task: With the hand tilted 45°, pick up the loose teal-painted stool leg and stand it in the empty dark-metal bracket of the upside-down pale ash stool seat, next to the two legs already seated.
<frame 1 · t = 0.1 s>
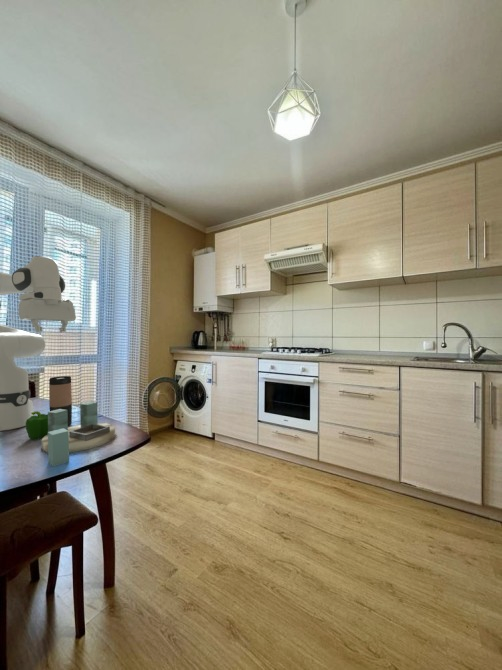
hand: (51, 331, 109), 39 cm above the table, tool pointing down, fingers open, 8 cm apart
bell pepper: (40, 438, 101), on the table
loose leg: (58, 462, 81), on the table
stool seat: (80, 439, 98), on the table
travel mug: (61, 426, 114), on the table
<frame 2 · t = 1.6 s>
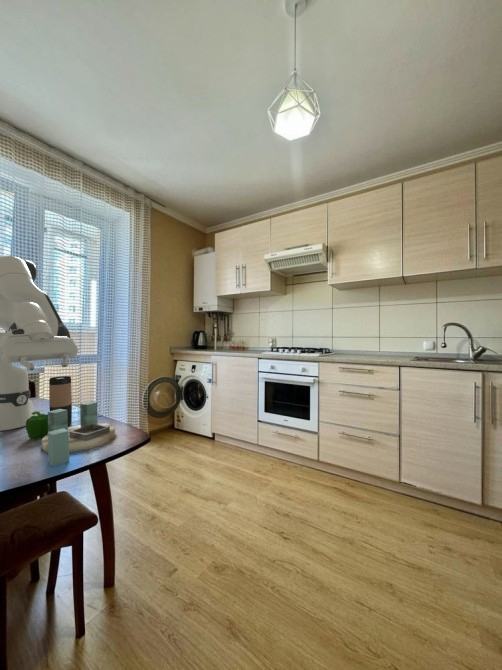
hand: (48, 367, 90), 27 cm above the table, tool tilted 45°, fingers open, 8 cm apart
nothing on the table moved.
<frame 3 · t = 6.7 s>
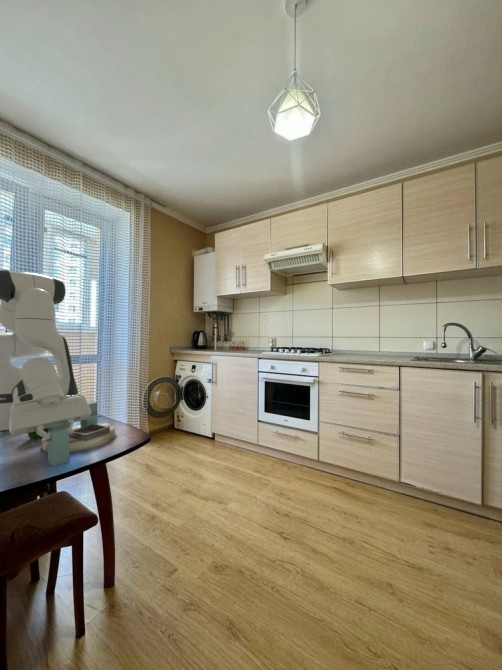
hand: (59, 437, 81), 7 cm above the table, tool tilted 45°, fingers closed on loose leg, 4 cm apart
loose leg: (58, 461, 81), on the table, touching gripper
everything else where it was.
when the fingers open (10 cm above the table, at t = 12.4 s): loose leg stays where it is, resting on stool seat.
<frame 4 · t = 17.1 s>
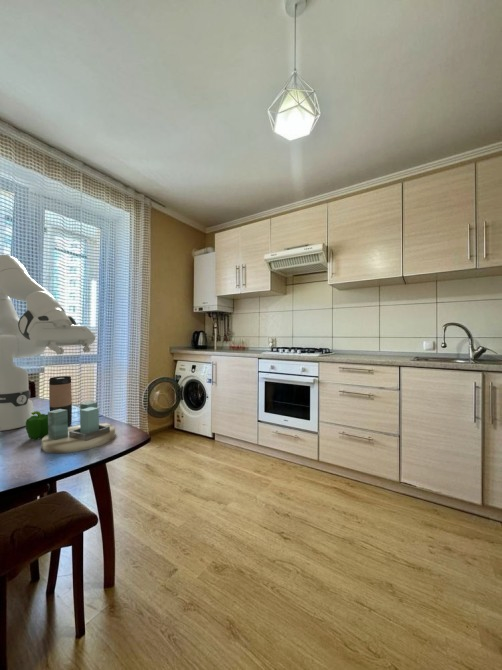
hand: (75, 352, 96), 31 cm above the table, tool tilted 45°, fingers open, 8 cm apart
loose leg: (89, 434, 96), point 2 cm above the table, touching stool seat
everything else where it was.
at the end: loose leg 0.1 cm from the target spot on the stool seat, point 2.5 cm above the stool seat's base; loose leg tilted 0°; the gripper is holding nothing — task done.
